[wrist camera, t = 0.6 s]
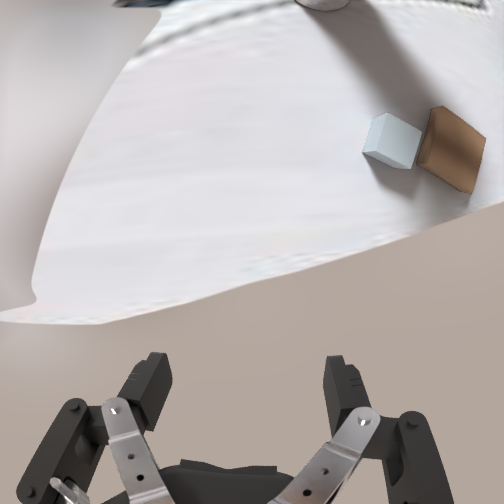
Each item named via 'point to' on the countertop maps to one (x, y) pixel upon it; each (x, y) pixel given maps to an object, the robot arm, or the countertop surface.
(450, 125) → the plinth
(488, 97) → the countertop surface
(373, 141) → the cube
